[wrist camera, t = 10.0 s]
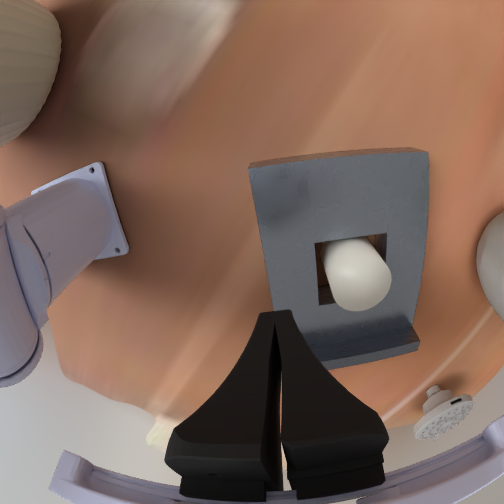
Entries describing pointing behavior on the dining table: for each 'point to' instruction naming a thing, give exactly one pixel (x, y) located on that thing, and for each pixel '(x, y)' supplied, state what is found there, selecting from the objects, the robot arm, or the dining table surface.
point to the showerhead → (441, 412)
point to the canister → (25, 63)
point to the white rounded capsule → (355, 273)
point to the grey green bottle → (492, 263)
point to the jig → (341, 227)
